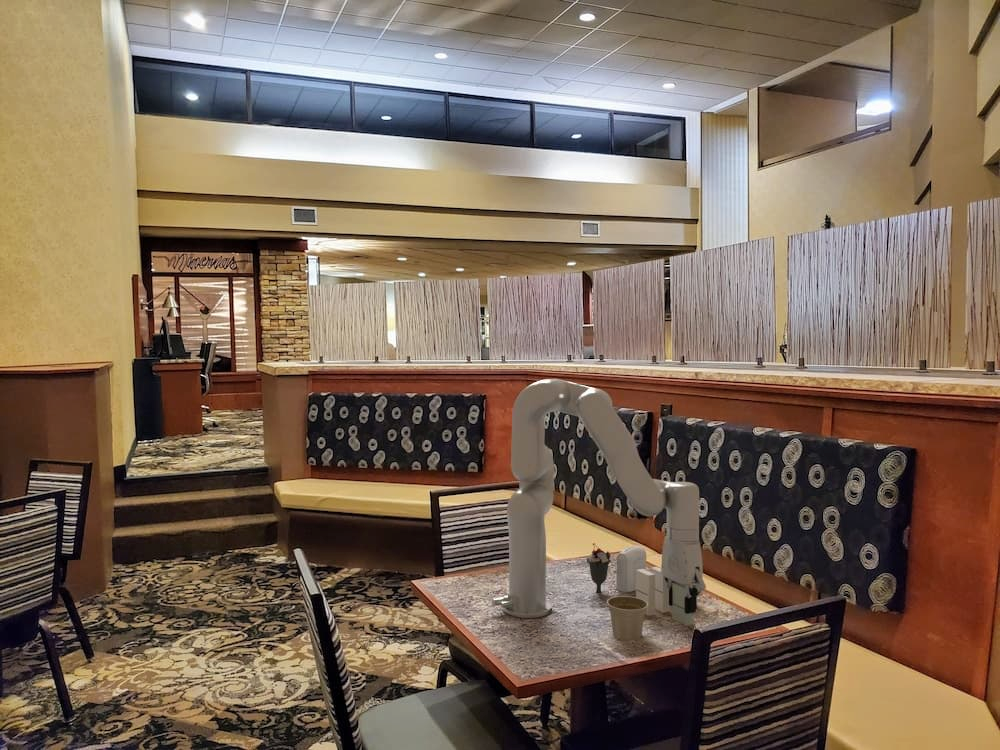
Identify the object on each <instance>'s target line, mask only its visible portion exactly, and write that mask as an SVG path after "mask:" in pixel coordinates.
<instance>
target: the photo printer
mask: <svg viewBox="0 0 1000 750" xmlns="http://www.w3.org/2000/svg"><path fill="white" fill-rule="evenodd" d="M639 569H644V570H646V571H647V551H646V550H645V548H643V547H642V546H637V545H632V546H627V547H626V548H623V550H621V551H619V553H618V554H617V556H616V590H618V592H622V593H630V592H632V591H636V570H639Z"/></svg>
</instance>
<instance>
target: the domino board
mask: <svg viewBox="0 0 1000 750" xmlns="http://www.w3.org/2000/svg"><path fill="white" fill-rule="evenodd" d="M702 609H706V607H705V606H702V605H701V604H698V603H697V611H698V610H702ZM668 616H672V607H670V606H669V612H664V613H662V612H661V611H659V610H657V609H655V614H654V615H650V616H648V615H646V614H645V615H644V621H648V620H654V619H658V618H664V617H668Z"/></svg>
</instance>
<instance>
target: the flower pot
mask: <svg viewBox="0 0 1000 750" xmlns="http://www.w3.org/2000/svg"><path fill="white" fill-rule="evenodd" d="M606 605H607V607H608V610H609V611H610V621H611V628H612V629H611V630H612V635H613V637H614V638H617V639H619V640H623V641H627V642H628V641H630V642H631V641H637V640H639V639H641V638H642V635H643V627H644V615H645V613H646V609H647V608H648V602H647V601H645V600H643V599H640V598H636V596H628V595H617V596H613V597H610V598H608V599H607V600H606Z"/></svg>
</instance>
